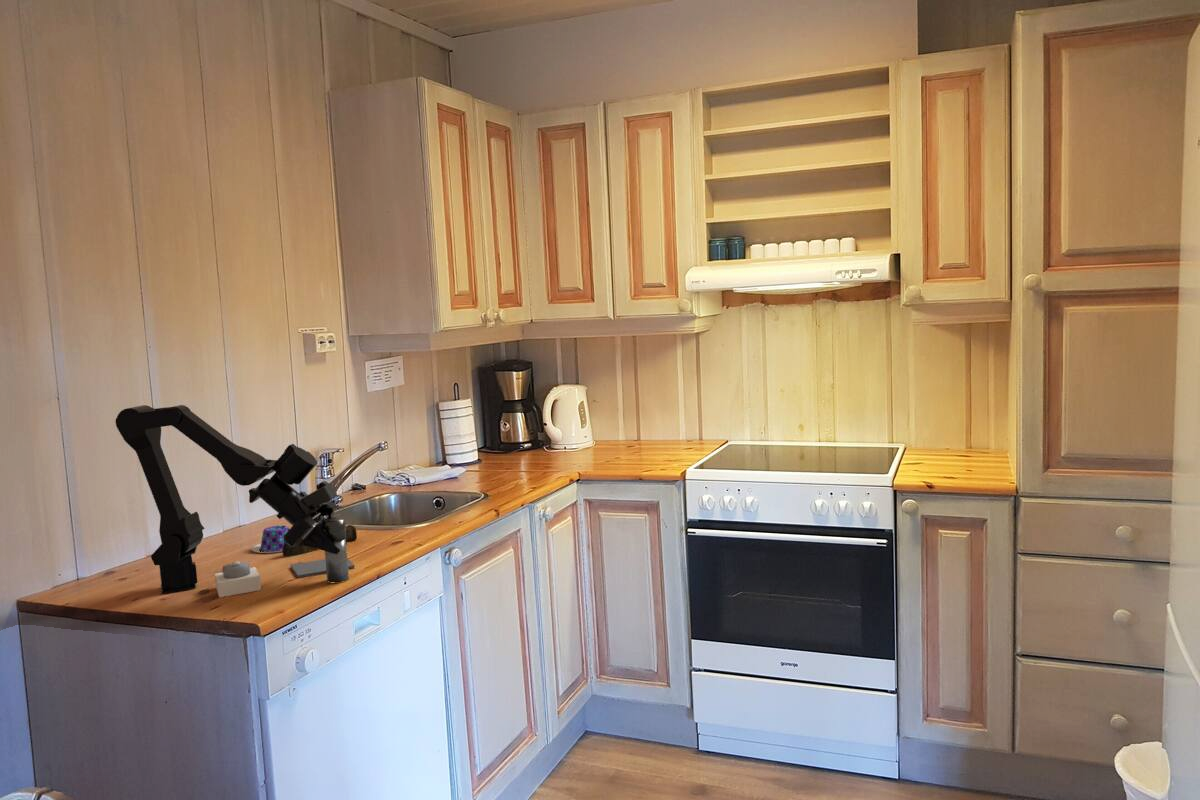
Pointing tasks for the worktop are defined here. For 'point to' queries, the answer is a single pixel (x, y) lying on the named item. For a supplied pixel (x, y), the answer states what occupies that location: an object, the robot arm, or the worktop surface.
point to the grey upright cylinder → (337, 534)
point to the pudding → (272, 539)
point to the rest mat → (313, 568)
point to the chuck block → (237, 579)
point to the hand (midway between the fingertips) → (342, 549)
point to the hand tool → (299, 549)
